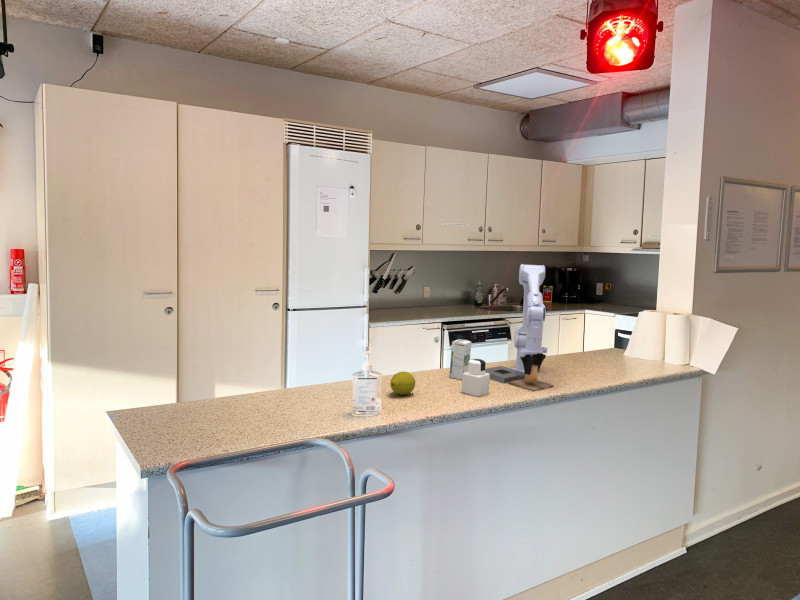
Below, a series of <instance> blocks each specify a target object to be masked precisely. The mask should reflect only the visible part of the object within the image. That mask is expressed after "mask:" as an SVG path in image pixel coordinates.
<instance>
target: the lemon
mask: <svg viewBox="0 0 800 600" xmlns="http://www.w3.org/2000/svg"><path fill="white" fill-rule="evenodd" d="M389 383H390V385H389V386H390V389H391V390H392V392H394V393H395V394H397V395H399V396H400V395H401V396H403V395H404V396H405V395H408V394H410V393H411V392H412V391H413V390H414V389H415V387H416V379H415V377H414V375H413V374H412V373H410V372H409V371H399V372H397V373H395V374H394V375H393V376H392V378H391V379H390V382H389Z"/></svg>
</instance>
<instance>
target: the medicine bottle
mask: <svg viewBox="0 0 800 600" xmlns="http://www.w3.org/2000/svg"><path fill="white" fill-rule="evenodd" d="M486 363H487V362H486V361H485V360H483V359H480V358H472V359H471V358H470V360H469V362H468V371H469V372H466V373H463V377H462V380H461V381H462V382H461V393H462V394H466V395H469V394H470V396H474V397H477V396H478V397H481V395H482V396H485V395H486V394H489V393H490V392H489V390H490V380H491V379H490V374H489V373H484V372H485V369H486Z"/></svg>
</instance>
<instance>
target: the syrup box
mask: <svg viewBox="0 0 800 600" xmlns="http://www.w3.org/2000/svg"><path fill="white" fill-rule="evenodd" d="M471 350H472V341H470V340H468V339H456V340H452V341H451V351H450V352H451V353H450V367H449V378H450V379H456V380H459V381H460V380H461V381H462V377H463V373H466V372H469V371H468V362H469V360H471Z"/></svg>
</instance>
